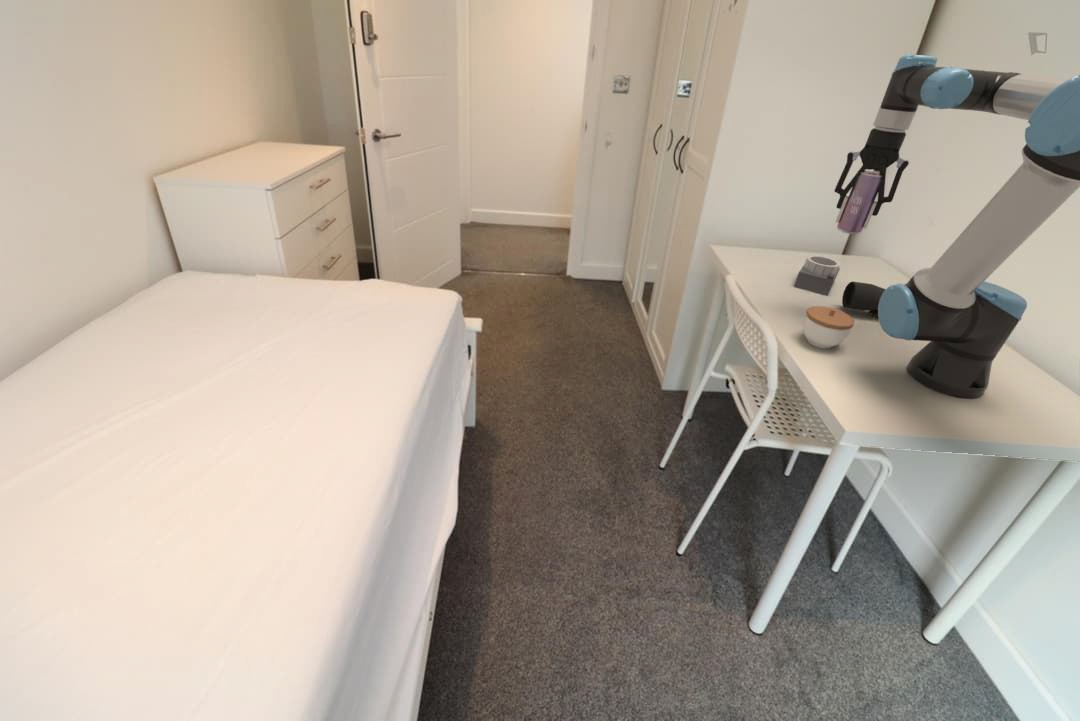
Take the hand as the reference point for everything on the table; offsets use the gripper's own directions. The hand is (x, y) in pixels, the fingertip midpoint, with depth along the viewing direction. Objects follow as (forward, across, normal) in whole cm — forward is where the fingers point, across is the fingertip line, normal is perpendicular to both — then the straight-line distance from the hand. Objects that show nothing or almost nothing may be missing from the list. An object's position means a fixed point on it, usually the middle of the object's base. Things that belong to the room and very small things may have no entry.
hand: (851, 224), depth 134 cm
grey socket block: (+25, +4, -20) cm, 32 cm away
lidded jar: (+25, -4, +22) cm, 34 cm away
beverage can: (+2, 0, 0) cm, 2 cm away
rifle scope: (+25, -18, -9) cm, 32 cm away
